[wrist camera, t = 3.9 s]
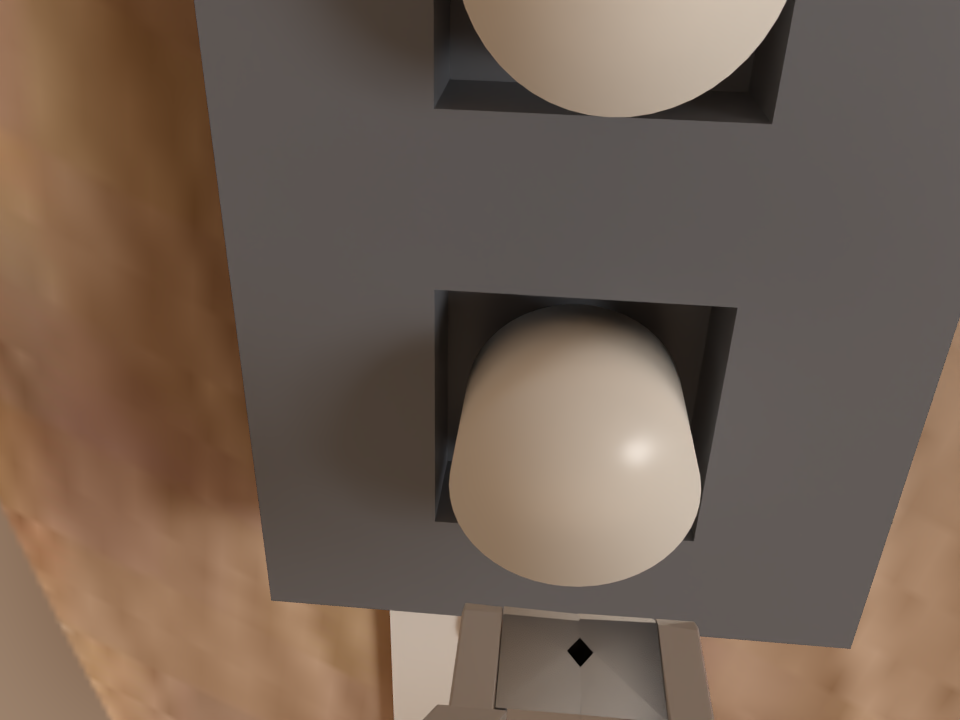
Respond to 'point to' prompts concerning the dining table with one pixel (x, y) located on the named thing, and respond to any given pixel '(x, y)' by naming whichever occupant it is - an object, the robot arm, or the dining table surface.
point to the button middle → (621, 48)
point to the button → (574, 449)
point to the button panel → (587, 291)
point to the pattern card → (422, 661)
